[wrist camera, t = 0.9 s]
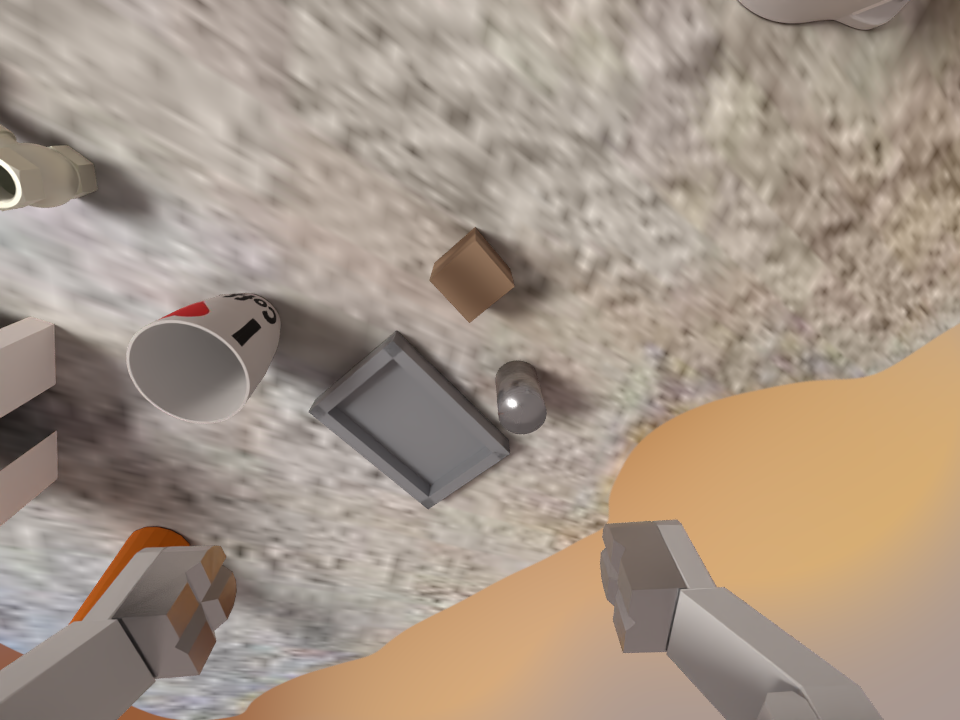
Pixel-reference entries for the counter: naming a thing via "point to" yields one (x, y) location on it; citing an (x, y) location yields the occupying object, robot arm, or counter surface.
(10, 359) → the white cylinder stand
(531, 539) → the counter surface
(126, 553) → the spray bottle
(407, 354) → the parts tray
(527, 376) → the metal cylinder
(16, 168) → the valve
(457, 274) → the walnut block
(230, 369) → the cup
